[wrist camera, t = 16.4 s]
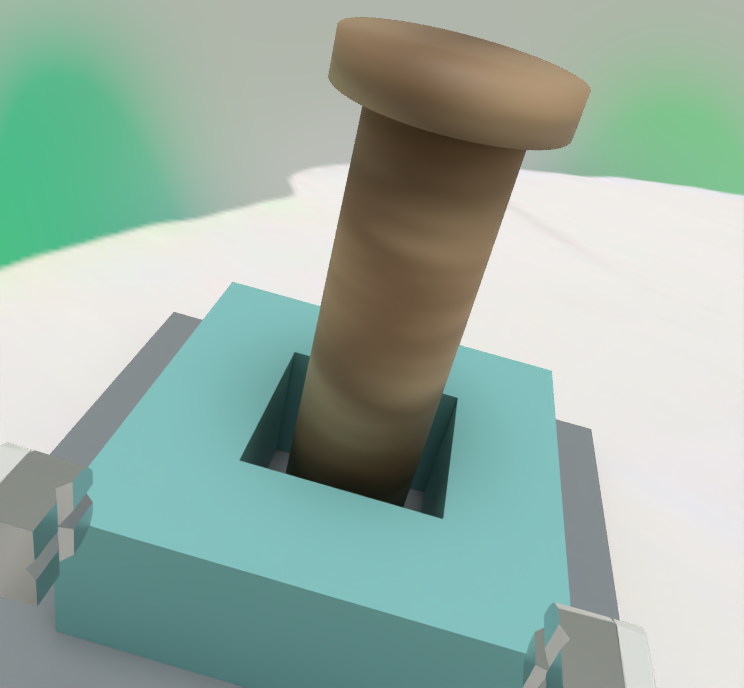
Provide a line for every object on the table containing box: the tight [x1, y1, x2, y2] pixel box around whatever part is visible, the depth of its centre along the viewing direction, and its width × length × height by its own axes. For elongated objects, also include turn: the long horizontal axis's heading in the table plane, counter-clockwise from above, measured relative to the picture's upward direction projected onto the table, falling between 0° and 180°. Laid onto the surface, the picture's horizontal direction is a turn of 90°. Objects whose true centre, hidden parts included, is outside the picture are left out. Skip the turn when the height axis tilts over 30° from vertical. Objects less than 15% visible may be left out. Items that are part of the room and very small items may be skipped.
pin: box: [286, 17, 591, 507], centre depth 22 cm, size 6×6×17 cm
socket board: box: [0, 282, 620, 688], centre depth 26 cm, size 22×22×6 cm
